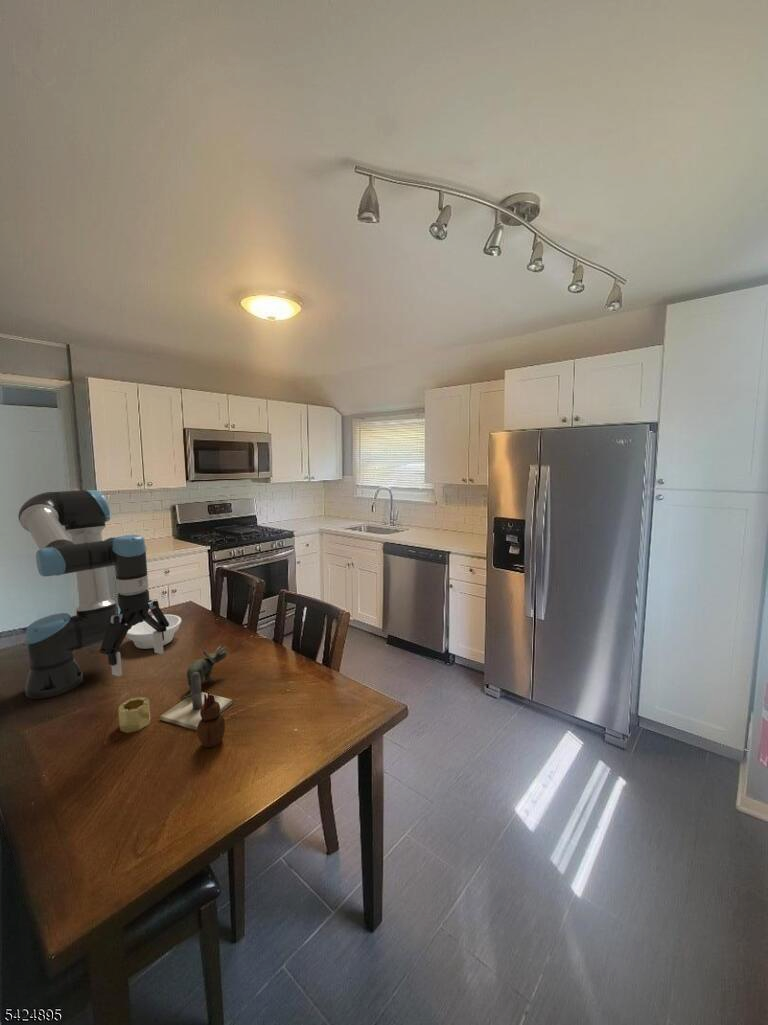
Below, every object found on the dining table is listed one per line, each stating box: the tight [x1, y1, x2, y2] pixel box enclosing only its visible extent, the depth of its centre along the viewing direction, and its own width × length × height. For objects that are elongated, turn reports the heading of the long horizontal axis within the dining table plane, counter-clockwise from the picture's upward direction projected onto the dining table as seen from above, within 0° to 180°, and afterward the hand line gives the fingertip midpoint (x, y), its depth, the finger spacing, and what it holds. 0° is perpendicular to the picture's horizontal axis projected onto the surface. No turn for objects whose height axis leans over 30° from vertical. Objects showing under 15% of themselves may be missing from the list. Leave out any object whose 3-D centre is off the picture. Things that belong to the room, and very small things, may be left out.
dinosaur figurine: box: [182, 643, 228, 699], centre depth 138 cm, size 22×8×11 cm, turn 167°
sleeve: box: [117, 696, 151, 734], centre depth 120 cm, size 7×7×6 cm
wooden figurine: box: [196, 692, 226, 749], centre depth 111 cm, size 7×6×15 cm
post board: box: [160, 672, 234, 731], centre depth 125 cm, size 14×14×12 cm
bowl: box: [125, 614, 182, 650], centre depth 172 cm, size 21×21×8 cm
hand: (139, 663), depth 119 cm, fingers open, 13 cm apart
